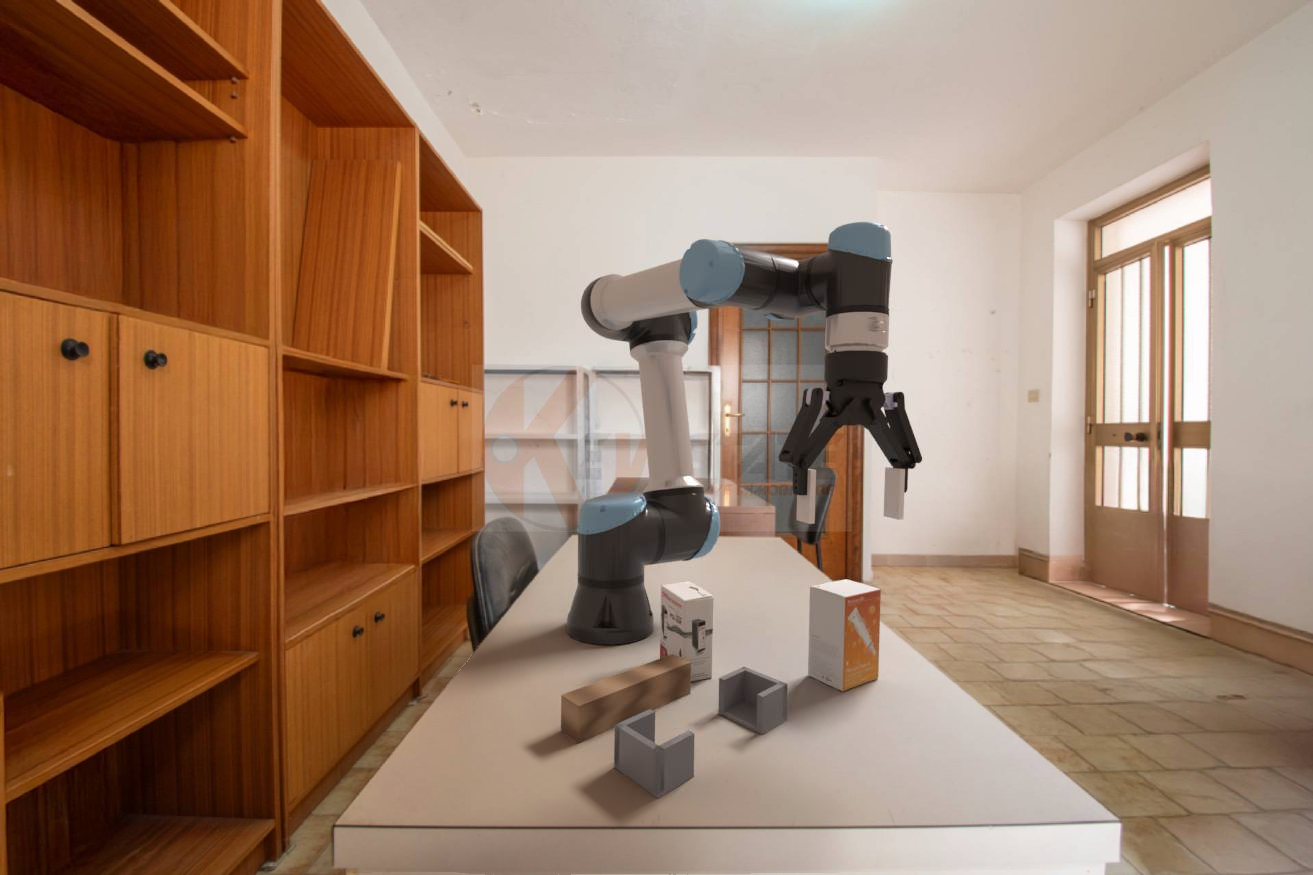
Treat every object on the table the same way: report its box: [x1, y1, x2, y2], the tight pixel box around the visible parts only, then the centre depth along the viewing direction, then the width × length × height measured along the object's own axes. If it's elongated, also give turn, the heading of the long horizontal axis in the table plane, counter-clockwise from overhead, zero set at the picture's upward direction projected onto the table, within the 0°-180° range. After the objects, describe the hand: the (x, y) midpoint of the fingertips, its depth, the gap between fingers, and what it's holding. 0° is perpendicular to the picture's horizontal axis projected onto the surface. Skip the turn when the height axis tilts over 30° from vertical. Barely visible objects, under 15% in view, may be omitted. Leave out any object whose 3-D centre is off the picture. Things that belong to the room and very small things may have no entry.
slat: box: [560, 654, 692, 745], centre depth 69 cm, size 18×4×4 cm, turn 133°
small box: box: [807, 578, 882, 692], centre depth 80 cm, size 8×6×13 cm
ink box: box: [659, 581, 715, 682], centre depth 82 cm, size 9×5×12 cm, turn 23°
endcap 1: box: [613, 709, 695, 799], centre depth 57 cm, size 7×5×4 cm
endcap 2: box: [718, 666, 788, 736], centre depth 69 cm, size 7×5×4 cm
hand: (850, 520), depth 71 cm, fingers open, 13 cm apart
